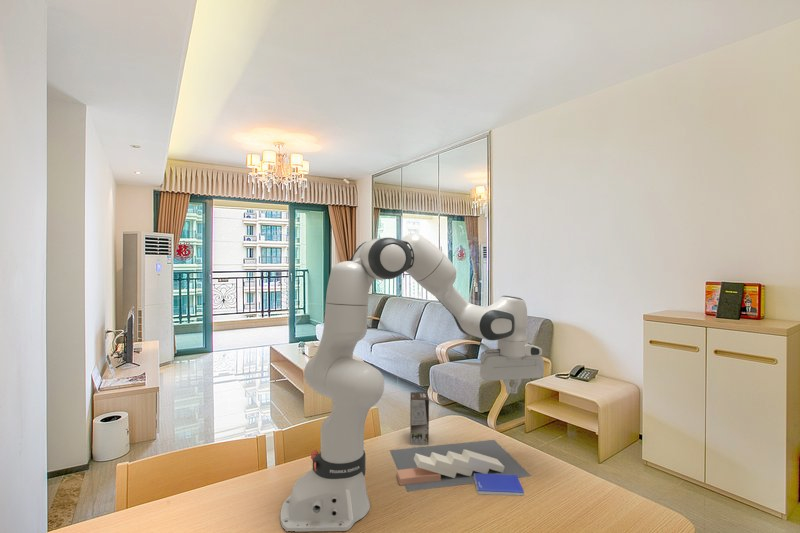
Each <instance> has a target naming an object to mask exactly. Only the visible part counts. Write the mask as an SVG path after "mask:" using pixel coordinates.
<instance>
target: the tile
mask: <svg viewBox="0 0 800 533" xmlns="http://www.w3.org/2000/svg"><path fill="white" fill-rule="evenodd" d="M396 478H397V480H398V483H399V486H405V485H407V484H415V483H423V482H432V481H440V480H441V474H439V473H435V472H432V471H429V470H425V469H422V468H411V469H402V470H398V469H396Z"/></svg>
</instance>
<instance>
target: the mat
mask: <svg viewBox="0 0 800 533" xmlns="http://www.w3.org/2000/svg"><path fill="white" fill-rule="evenodd" d="M464 449H465V450H469V451H472V452H475V453H479V454H482V455H485V456H489V457H492V458H495V459H498V460H499V461H500V463H501V464H502V465H503V466H504V467H505V468H504V471H503V473H502V472H499V471H495V470H492V469H489V471H488V474H502V475H517V477H518V479H519V478H527V477H532V475H531V474H530V473H529V472H528V470H526V468H525V467H523V466H522V465H521V464H520V463H519V462H518V461H517V460H515V458H514V457H513V456H511V454H509V453H508V452H507V451H506V450H505V449H504V448H503V447H502V445H500V443H498V442H497V441H496V440H494V439H489V440H479V441H470V442H469V441H468V442H459V443H458V442H457V443H449V444H448V443H447V444H439V445H426V446H419V447H408V448H400V449H399V448H397V449H389V452H390V454H391V457H392V460H393V461H394V465H395V467H396V468H397V469H396V470H402V469H411V468H419V467H417V465H416V463H415V461H414V456H415V454H416V453H417V454H420V455H423V456H426V457H430V456H431V453H432V452H434V453H437V454H440V455H443V456H446V455H447V452H448V451H451V452H454V453H458V454H461V455H462V452H463V450H464ZM474 473H479V474H483V473H480V472H476V471H473V472H472V475H471V477H470V476H467V475H463V474H460V473H456V476H455V478H452V477H448V476H445V475H442V474H441V480H440V481H432V482H423V483H415V484H407V485H404V487H405V490H406V492H416V491H417V492H418V491H424V490H425V491H426V490H431V489H440V488H447V487H448V488H449V487H456V486H462V485H463V486H464V485H471V484H472V485H473V484H475V481H474Z"/></svg>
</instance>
